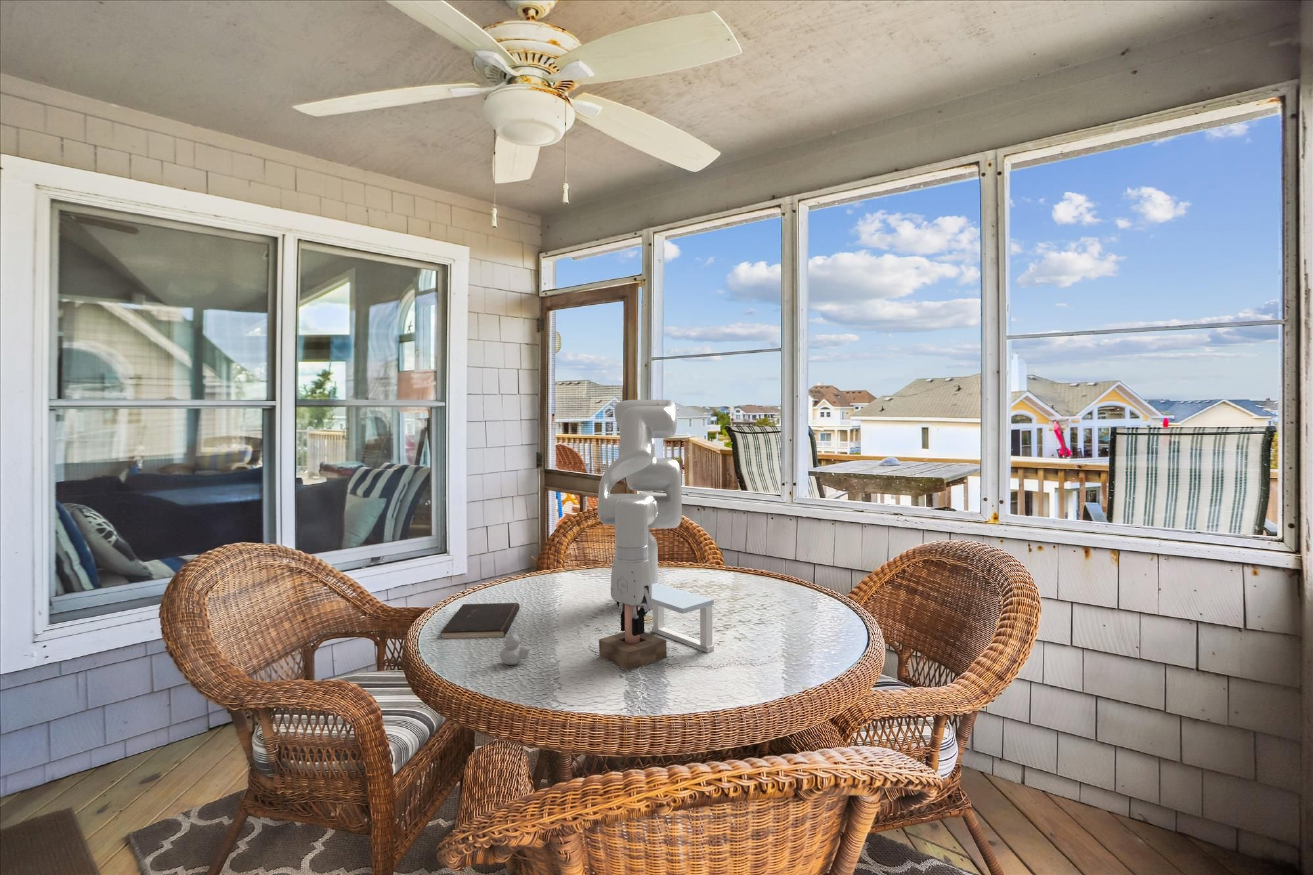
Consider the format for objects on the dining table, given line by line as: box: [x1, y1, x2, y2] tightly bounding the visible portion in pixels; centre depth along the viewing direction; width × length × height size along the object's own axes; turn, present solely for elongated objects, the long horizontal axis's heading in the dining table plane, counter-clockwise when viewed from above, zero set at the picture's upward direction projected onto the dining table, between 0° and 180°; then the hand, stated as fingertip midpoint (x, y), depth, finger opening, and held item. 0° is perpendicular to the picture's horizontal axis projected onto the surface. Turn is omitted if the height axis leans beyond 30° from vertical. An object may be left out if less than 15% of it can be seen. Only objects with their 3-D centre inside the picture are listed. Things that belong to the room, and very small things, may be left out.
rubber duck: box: [499, 628, 530, 666], centre depth 148 cm, size 5×7×8 cm
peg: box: [624, 604, 640, 645], centre depth 151 cm, size 3×3×12 cm
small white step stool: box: [651, 582, 715, 654], centre depth 158 cm, size 20×10×12 cm, turn 41°
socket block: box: [598, 631, 668, 671], centre depth 151 cm, size 11×11×4 cm
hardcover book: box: [440, 602, 521, 639], centre depth 176 cm, size 16×23×2 cm
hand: (632, 631), depth 151 cm, fingers closed on peg, 3 cm apart
